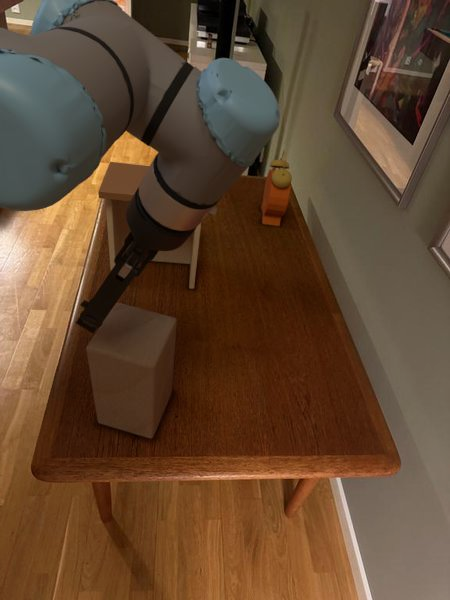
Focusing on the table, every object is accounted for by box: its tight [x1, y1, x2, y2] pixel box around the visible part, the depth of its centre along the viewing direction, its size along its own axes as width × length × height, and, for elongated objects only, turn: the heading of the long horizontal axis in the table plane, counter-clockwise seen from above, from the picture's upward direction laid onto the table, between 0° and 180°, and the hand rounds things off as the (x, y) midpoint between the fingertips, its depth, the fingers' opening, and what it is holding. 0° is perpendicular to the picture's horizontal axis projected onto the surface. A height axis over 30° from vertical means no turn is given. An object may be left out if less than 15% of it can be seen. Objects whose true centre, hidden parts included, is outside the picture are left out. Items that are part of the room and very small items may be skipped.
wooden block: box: [85, 302, 178, 439], centre depth 64 cm, size 10×10×20 cm
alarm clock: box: [260, 150, 293, 227], centre depth 120 cm, size 13×6×20 cm, turn 179°
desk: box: [97, 161, 202, 289], centre depth 90 cm, size 13×21×24 cm, turn 92°
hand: (109, 291), depth 59 cm, fingers open, 13 cm apart
